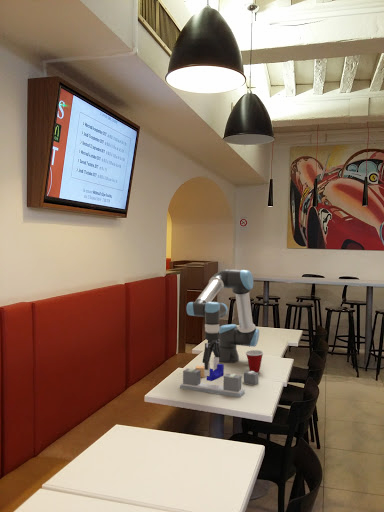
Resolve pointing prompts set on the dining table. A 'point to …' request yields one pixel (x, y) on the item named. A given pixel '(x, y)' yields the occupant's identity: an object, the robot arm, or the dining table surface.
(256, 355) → the plastic cup
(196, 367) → the terminal block
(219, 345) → the robot arm
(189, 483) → the dining table surface
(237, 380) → the rail fixture
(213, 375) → the cable clip
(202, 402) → the dining table surface
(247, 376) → the block
